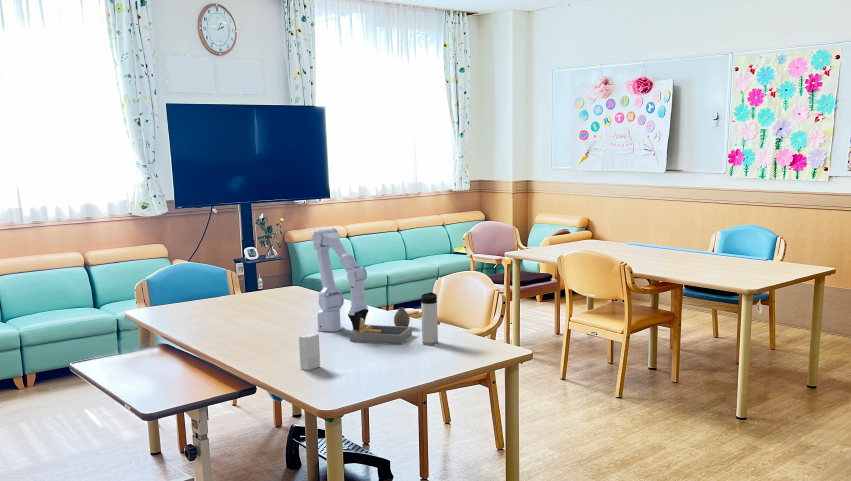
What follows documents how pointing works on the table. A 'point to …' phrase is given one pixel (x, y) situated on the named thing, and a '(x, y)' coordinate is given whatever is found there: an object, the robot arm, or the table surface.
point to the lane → (383, 335)
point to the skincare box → (309, 351)
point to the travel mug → (429, 319)
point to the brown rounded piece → (401, 318)
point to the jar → (362, 325)
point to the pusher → (370, 330)
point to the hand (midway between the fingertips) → (358, 328)
